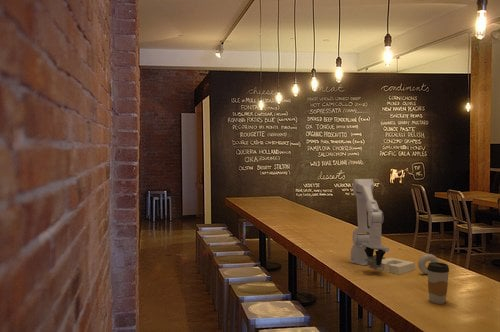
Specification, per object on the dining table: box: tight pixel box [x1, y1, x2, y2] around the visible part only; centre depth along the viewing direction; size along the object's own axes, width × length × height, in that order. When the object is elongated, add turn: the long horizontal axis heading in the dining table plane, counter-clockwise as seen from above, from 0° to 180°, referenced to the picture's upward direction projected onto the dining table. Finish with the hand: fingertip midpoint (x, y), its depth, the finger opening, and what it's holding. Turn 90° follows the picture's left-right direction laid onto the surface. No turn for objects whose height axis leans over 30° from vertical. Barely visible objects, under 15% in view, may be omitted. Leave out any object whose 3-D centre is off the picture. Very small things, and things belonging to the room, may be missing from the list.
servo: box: [365, 254, 386, 270], centre depth 249 cm, size 4×11×6 cm, turn 131°
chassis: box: [375, 257, 416, 275], centre depth 257 cm, size 14×14×4 cm
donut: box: [417, 253, 440, 275], centre depth 247 cm, size 10×4×10 cm, turn 91°
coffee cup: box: [427, 261, 450, 305], centre depth 206 cm, size 8×8×15 cm
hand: (374, 264), depth 249 cm, fingers closed on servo, 4 cm apart
